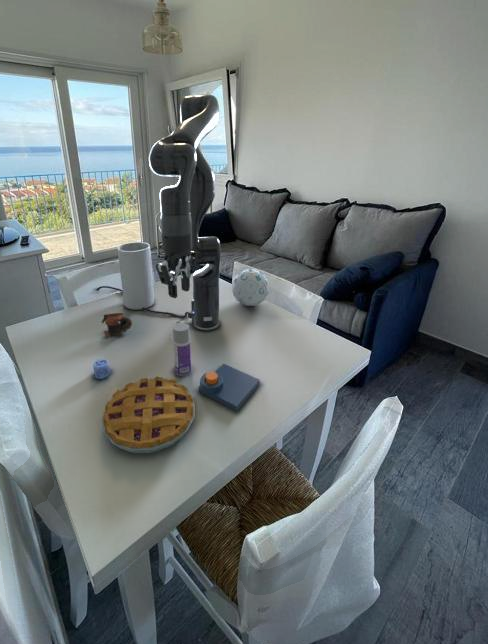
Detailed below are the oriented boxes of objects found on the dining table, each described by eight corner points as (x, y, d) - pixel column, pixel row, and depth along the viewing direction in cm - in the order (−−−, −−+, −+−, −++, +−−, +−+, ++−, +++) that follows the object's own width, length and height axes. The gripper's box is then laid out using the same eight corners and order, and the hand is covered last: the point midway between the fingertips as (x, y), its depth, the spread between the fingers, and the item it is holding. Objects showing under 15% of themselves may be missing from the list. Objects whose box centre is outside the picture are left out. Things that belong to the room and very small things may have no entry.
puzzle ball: (252, 293, 142) (254, 261, 137) (275, 306, 130) (278, 272, 125) (224, 301, 135) (224, 268, 130) (245, 316, 123) (247, 280, 118)
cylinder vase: (126, 297, 139) (119, 242, 130) (155, 296, 140) (150, 241, 131) (122, 311, 128) (115, 252, 118) (153, 309, 129) (149, 250, 120)
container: (193, 367, 95) (191, 324, 89) (187, 377, 91) (185, 332, 85) (179, 364, 96) (176, 321, 91) (172, 374, 92) (169, 329, 87)
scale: (195, 391, 86) (195, 381, 84) (221, 367, 95) (222, 357, 94) (235, 413, 79) (235, 402, 77) (259, 384, 88) (260, 374, 87)
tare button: (203, 381, 85) (203, 376, 84) (210, 375, 87) (210, 370, 86) (213, 386, 83) (213, 381, 82) (219, 379, 85) (219, 374, 85)
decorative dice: (94, 371, 94) (93, 360, 92) (109, 368, 95) (107, 357, 93) (95, 380, 90) (93, 369, 89) (110, 377, 91) (108, 365, 90)
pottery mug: (96, 338, 110) (95, 315, 112) (113, 336, 119) (112, 314, 120) (126, 335, 106) (124, 311, 108) (141, 333, 115) (139, 310, 116)
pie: (203, 450, 69) (203, 433, 67) (98, 470, 65) (95, 453, 63) (188, 382, 89) (187, 367, 87) (107, 394, 85) (104, 379, 83)
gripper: (183, 223, 85) (186, 281, 92) (144, 234, 75) (150, 300, 81) (206, 227, 81) (206, 288, 88) (167, 239, 71) (171, 308, 77)
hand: (179, 293), depth 84 cm, fingers open, 4 cm apart
